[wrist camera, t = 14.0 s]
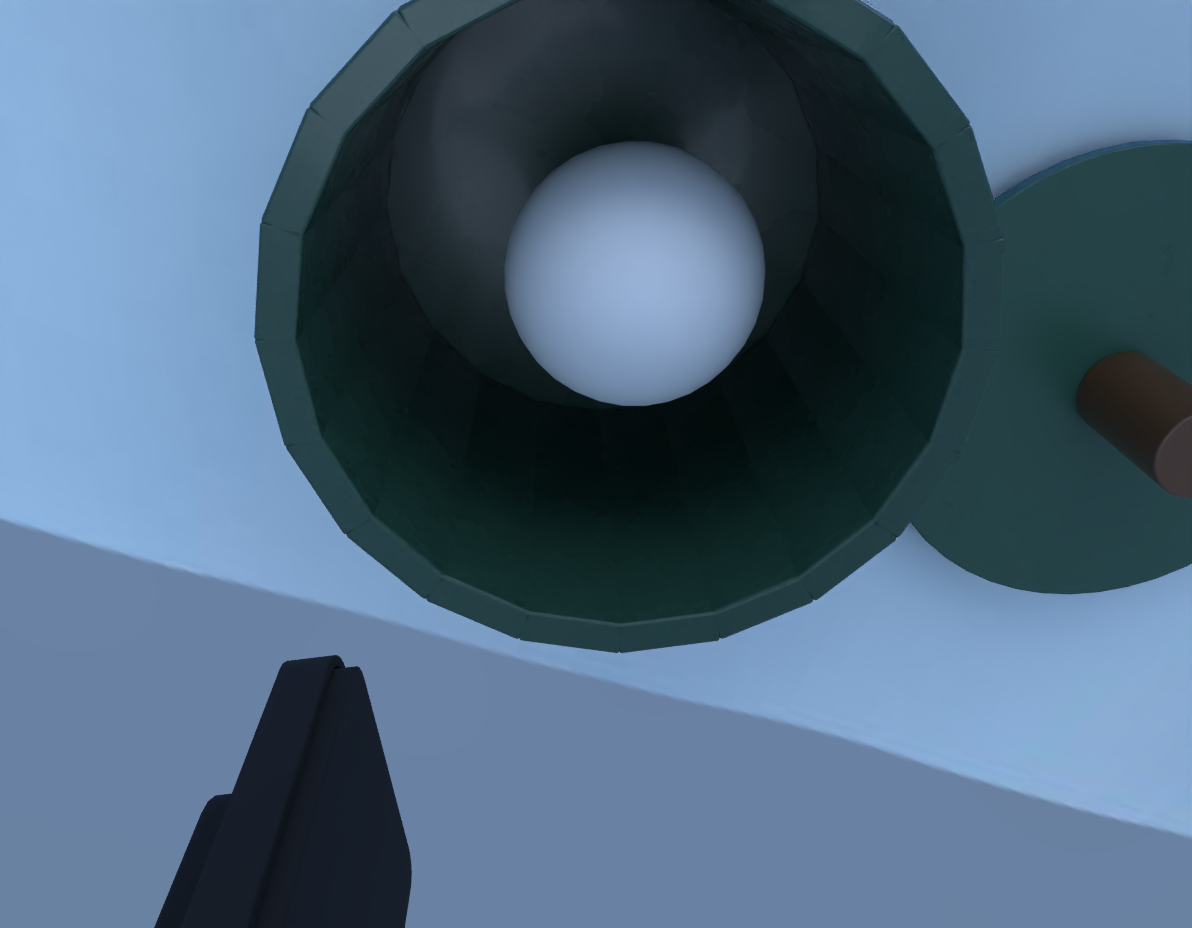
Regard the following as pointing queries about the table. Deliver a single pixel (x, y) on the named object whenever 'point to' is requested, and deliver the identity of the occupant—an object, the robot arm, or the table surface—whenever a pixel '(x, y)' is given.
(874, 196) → the tin
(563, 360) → the lightbulb
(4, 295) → the table surface
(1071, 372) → the lid
